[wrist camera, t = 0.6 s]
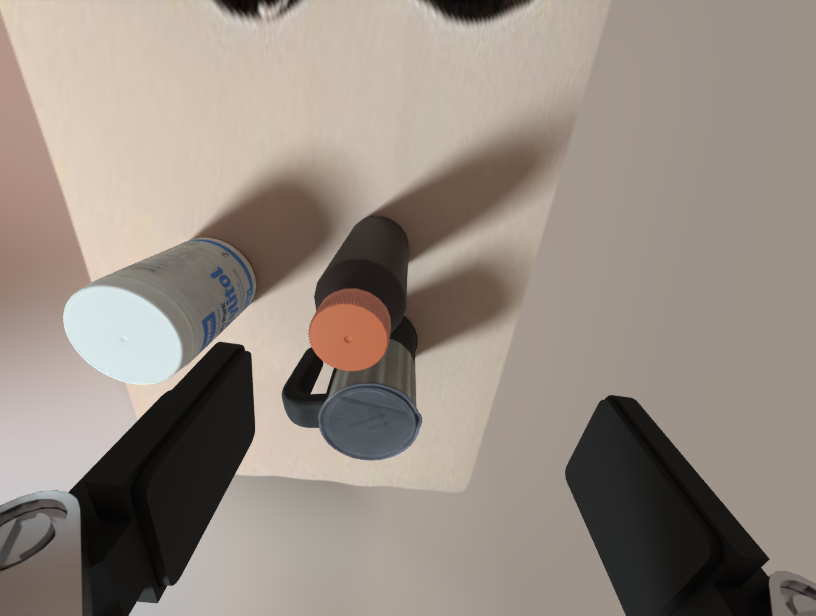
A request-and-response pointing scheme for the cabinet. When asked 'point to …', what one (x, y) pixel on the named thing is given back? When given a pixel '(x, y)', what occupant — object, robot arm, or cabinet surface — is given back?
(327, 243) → the cabinet surface
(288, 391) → the milk frother
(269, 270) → the cabinet surface
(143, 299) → the supplement tub
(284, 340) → the cabinet surface
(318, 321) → the bottle
